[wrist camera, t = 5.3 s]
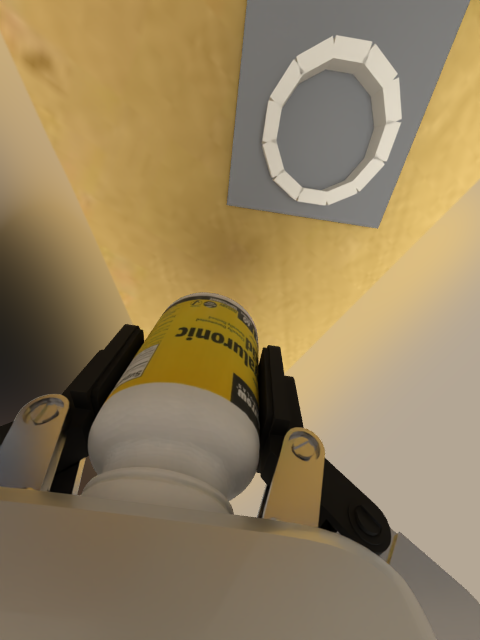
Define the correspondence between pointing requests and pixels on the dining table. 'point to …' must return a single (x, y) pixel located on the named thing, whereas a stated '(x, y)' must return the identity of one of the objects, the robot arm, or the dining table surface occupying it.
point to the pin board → (334, 102)
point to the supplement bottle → (183, 412)
